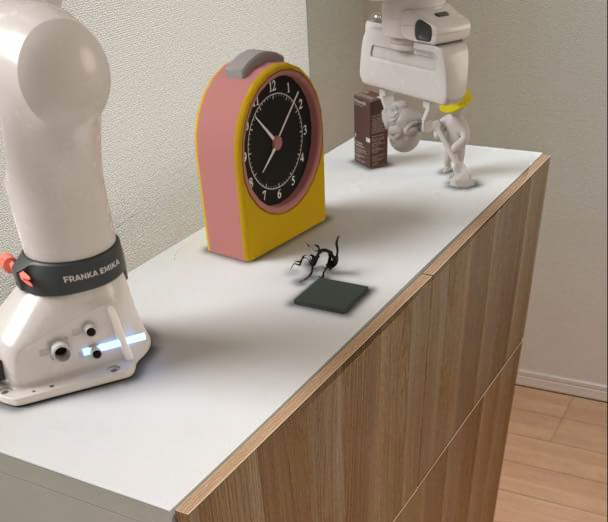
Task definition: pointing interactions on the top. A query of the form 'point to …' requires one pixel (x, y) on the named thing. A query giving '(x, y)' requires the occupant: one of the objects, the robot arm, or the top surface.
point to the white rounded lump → (402, 125)
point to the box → (369, 130)
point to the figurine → (455, 140)
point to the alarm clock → (259, 155)
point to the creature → (330, 263)
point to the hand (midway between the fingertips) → (407, 126)
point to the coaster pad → (331, 295)
